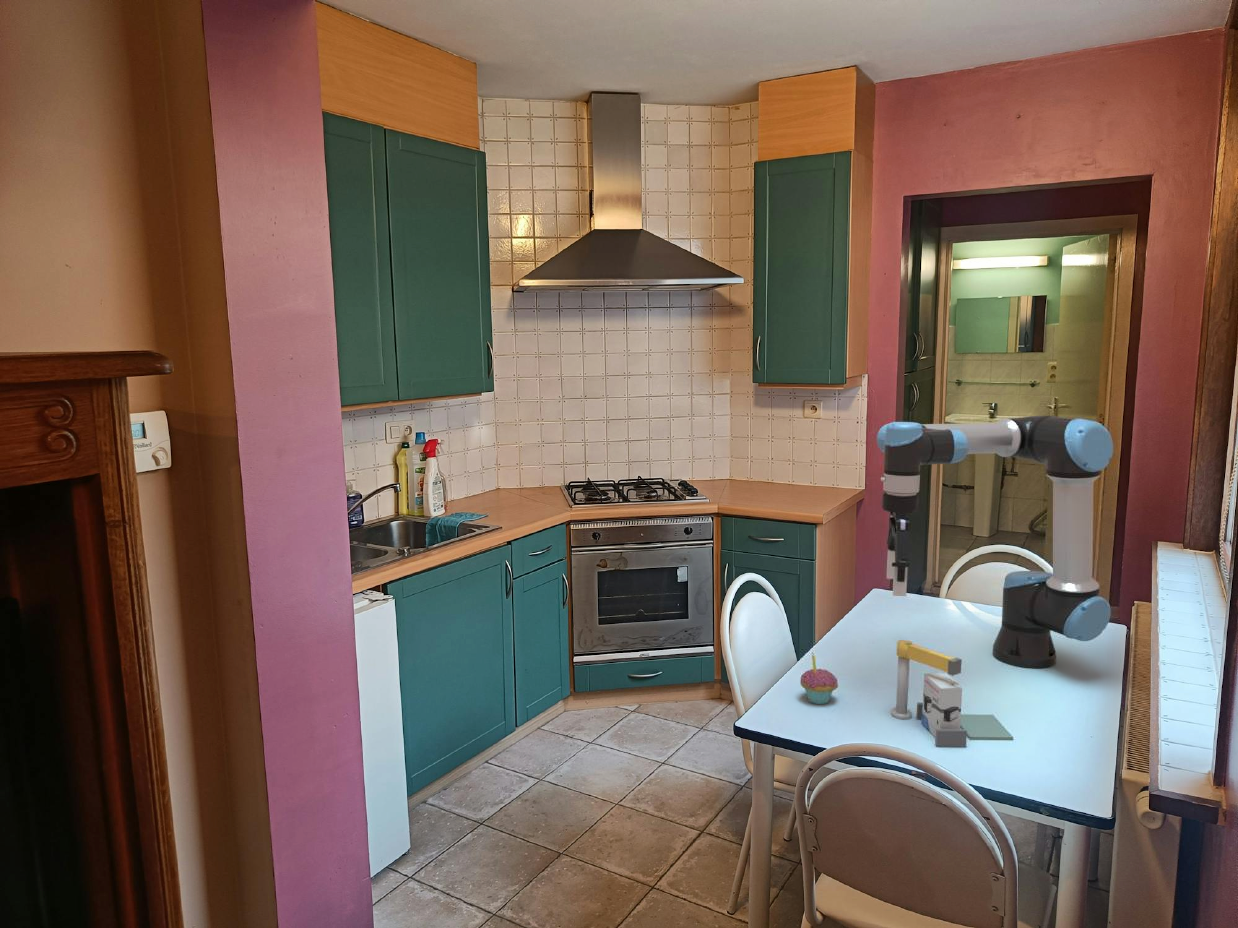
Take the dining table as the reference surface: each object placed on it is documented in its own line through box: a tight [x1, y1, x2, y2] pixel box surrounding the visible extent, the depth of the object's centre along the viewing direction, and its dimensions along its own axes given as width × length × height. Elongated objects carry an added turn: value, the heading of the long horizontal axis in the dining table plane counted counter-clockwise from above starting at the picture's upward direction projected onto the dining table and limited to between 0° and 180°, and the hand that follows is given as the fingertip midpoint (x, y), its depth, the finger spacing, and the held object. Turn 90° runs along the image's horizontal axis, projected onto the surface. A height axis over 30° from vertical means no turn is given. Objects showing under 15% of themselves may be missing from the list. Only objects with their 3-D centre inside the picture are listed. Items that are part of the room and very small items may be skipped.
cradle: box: [890, 656, 968, 748], centre depth 187 cm, size 11×17×14 cm, turn 178°
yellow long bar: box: [896, 639, 962, 677], centre depth 187 cm, size 15×3×3 cm, turn 35°
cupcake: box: [800, 652, 839, 705], centre depth 202 cm, size 9×8×12 cm
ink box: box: [921, 672, 963, 738], centre depth 185 cm, size 8×5×12 cm, turn 5°
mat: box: [960, 713, 1014, 741], centre depth 188 cm, size 9×11×1 cm
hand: (895, 586), depth 193 cm, fingers open, 13 cm apart
